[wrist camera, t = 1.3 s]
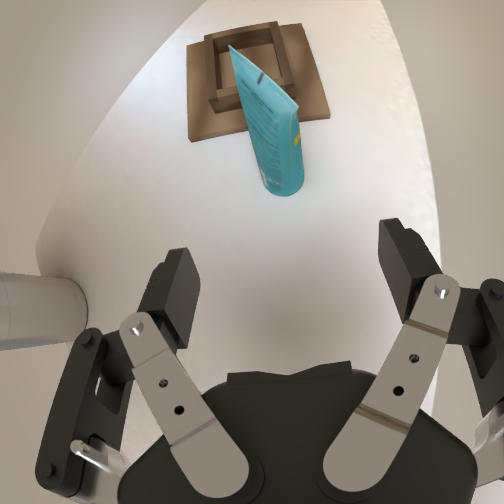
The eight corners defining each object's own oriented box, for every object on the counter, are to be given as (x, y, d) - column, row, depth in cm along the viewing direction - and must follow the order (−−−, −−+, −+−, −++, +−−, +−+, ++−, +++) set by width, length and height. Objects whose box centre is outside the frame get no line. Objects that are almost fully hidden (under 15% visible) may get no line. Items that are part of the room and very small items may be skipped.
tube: (319, 185, 35) (327, 84, 17) (288, 212, 36) (268, 130, 17) (276, 143, 37) (248, 31, 18) (247, 169, 37) (194, 68, 18)
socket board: (191, 142, 39) (178, 125, 34) (189, 50, 41) (179, 31, 37) (329, 118, 36) (331, 97, 32) (301, 28, 39) (299, 7, 34)
